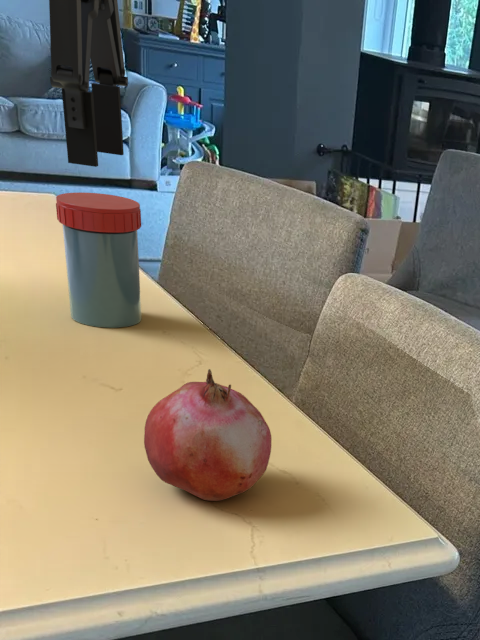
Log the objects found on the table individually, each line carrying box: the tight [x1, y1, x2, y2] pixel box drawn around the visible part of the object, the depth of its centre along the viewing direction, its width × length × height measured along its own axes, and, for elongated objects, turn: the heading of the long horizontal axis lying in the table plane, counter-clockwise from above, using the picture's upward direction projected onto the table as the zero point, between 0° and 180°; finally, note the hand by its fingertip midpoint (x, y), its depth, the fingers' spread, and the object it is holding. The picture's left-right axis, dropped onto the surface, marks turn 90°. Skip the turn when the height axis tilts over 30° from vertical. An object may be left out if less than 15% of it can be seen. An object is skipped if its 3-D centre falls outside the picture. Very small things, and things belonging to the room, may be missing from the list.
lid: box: [55, 192, 142, 233], centre depth 95 cm, size 8×8×2 cm
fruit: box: [143, 368, 272, 502], centre depth 67 cm, size 9×10×10 cm
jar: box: [62, 224, 142, 329], centre depth 98 cm, size 8×8×12 cm
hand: (97, 158), depth 92 cm, fingers open, 9 cm apart
